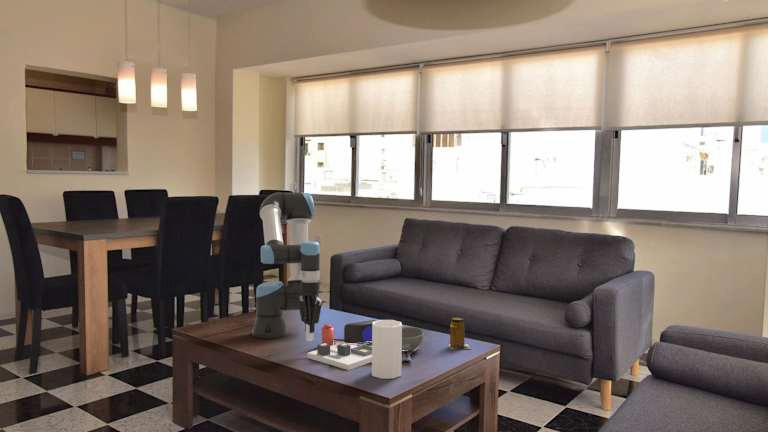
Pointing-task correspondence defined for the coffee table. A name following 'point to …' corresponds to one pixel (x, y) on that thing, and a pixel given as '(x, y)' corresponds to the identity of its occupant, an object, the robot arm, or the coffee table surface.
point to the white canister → (386, 349)
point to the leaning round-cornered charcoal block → (358, 332)
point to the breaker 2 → (344, 349)
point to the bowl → (411, 338)
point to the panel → (355, 359)
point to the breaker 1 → (323, 349)
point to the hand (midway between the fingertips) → (309, 340)
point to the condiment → (457, 334)
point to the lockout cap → (328, 334)
